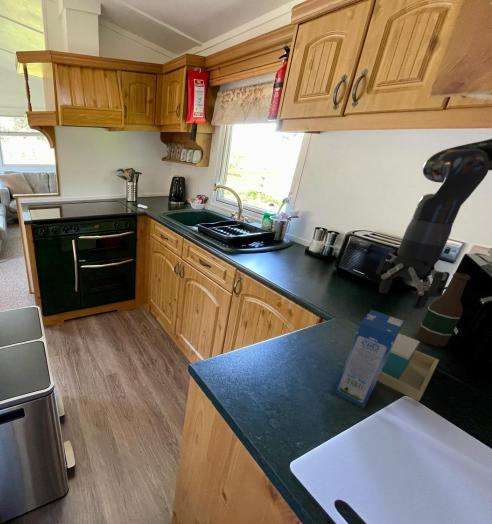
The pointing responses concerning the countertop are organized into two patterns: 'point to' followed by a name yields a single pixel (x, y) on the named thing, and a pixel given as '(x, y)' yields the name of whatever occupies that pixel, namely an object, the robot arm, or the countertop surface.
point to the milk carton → (367, 356)
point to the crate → (412, 376)
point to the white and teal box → (400, 356)
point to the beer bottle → (443, 313)
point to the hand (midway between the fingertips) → (398, 300)
